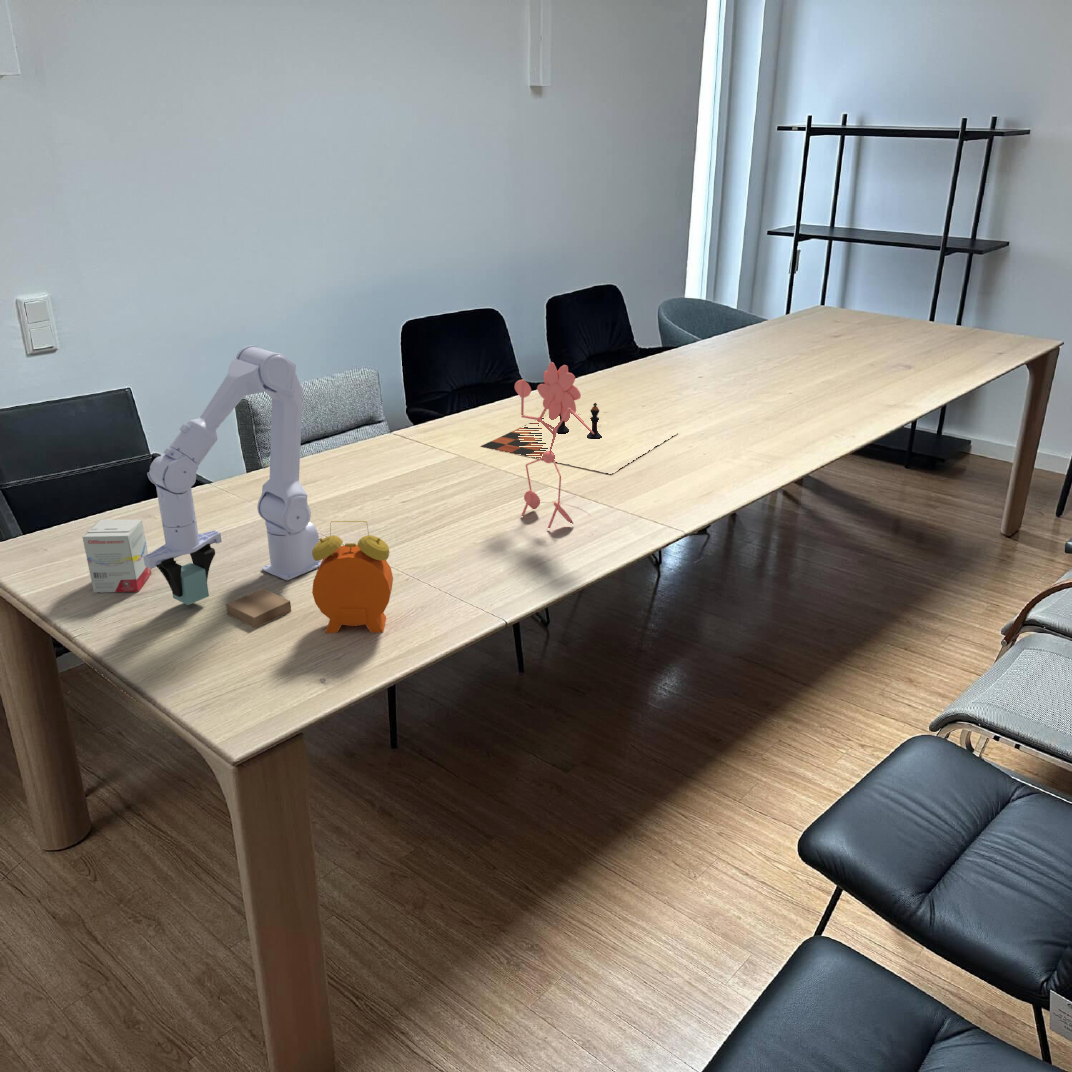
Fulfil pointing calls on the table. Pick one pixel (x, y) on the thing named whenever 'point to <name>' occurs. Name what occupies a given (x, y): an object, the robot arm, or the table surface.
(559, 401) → the figurine
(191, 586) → the teal block
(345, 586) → the alarm clock
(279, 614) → the walnut slab
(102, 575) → the ink box
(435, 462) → the table surface
